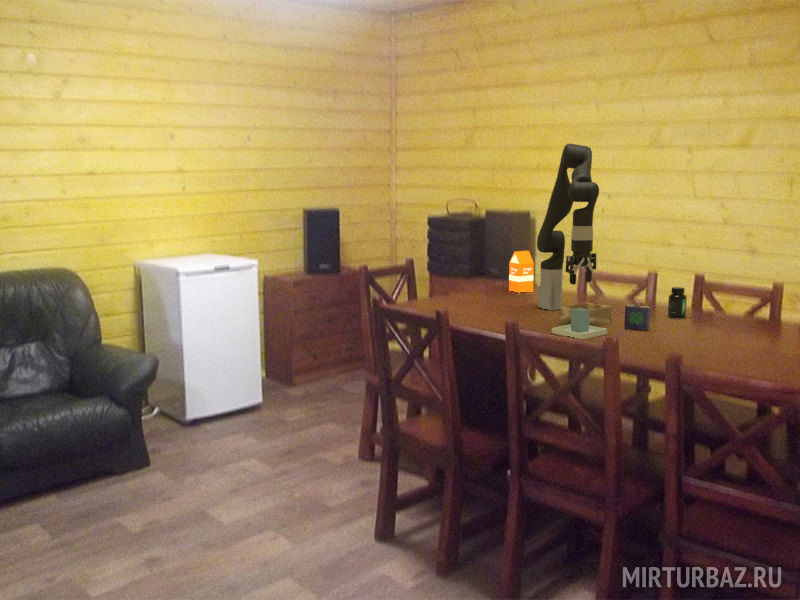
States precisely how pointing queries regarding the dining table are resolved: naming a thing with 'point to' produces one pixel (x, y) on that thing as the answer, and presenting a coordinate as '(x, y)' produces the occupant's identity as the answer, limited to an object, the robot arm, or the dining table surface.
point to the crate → (596, 313)
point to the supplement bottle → (677, 303)
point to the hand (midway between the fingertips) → (580, 283)
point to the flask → (637, 317)
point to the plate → (567, 331)
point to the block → (580, 320)
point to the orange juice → (521, 272)
